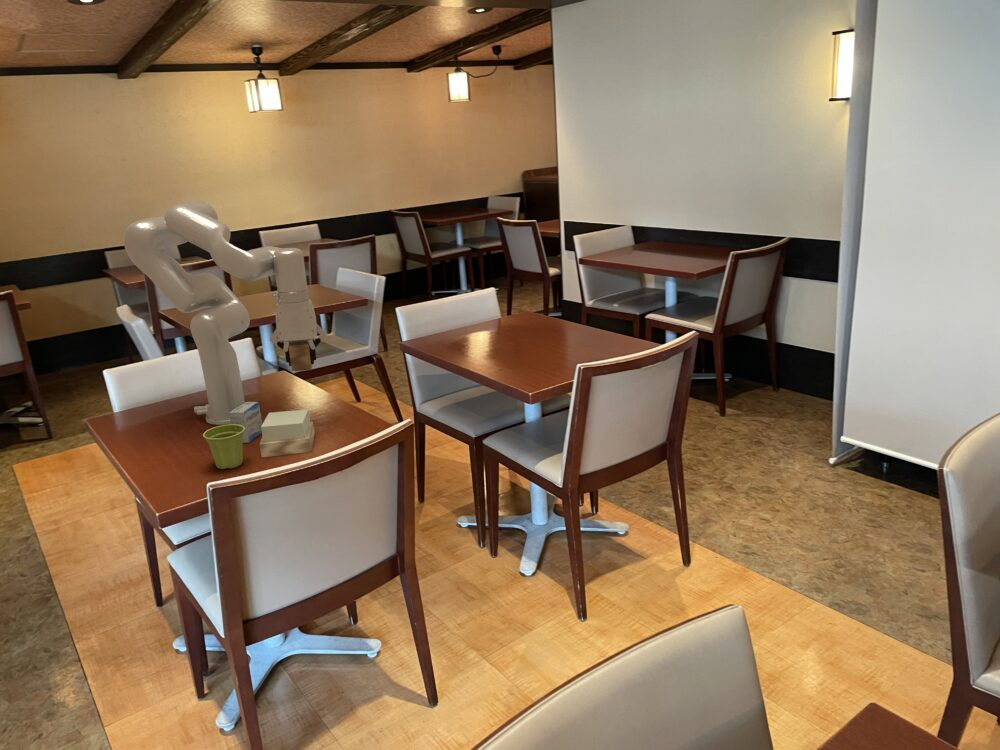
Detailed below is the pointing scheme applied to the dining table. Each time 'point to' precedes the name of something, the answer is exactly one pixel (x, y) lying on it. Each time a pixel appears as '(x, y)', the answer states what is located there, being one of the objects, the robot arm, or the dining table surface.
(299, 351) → the walnut block
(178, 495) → the dining table surface
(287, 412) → the tower top block
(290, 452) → the tower base block
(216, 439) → the plant pot
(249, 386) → the dining table surface
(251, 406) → the medicine box
